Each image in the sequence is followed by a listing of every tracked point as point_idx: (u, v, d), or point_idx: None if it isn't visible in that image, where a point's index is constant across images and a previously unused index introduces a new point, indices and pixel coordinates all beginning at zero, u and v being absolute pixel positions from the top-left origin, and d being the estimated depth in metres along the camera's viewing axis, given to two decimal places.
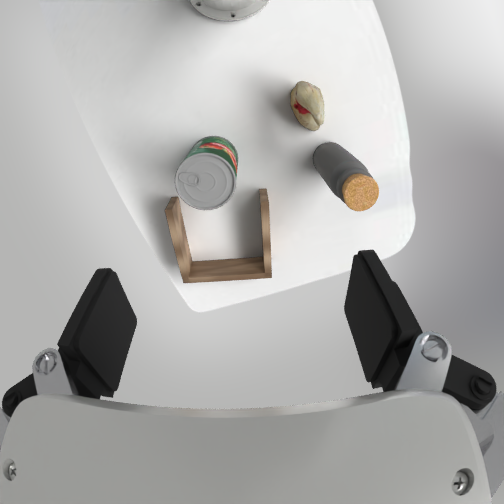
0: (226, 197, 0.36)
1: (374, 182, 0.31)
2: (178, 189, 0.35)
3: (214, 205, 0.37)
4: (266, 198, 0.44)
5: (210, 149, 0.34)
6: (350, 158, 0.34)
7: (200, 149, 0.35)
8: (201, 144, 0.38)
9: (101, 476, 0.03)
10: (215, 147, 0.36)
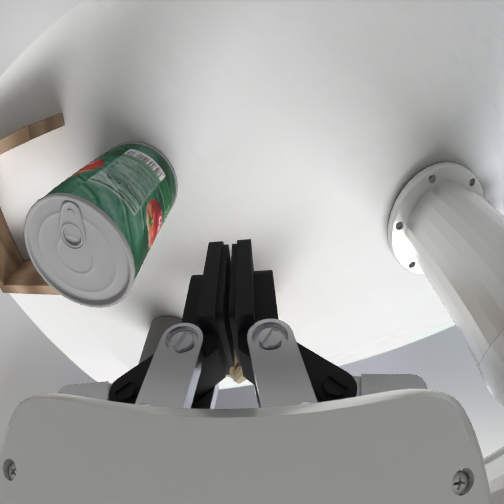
0: (63, 289, 0.15)
1: None
2: (44, 201, 0.12)
3: (42, 268, 0.14)
4: None
5: (143, 249, 0.16)
6: None
7: (141, 223, 0.15)
8: (155, 195, 0.18)
9: (101, 476, 0.03)
10: (151, 239, 0.17)
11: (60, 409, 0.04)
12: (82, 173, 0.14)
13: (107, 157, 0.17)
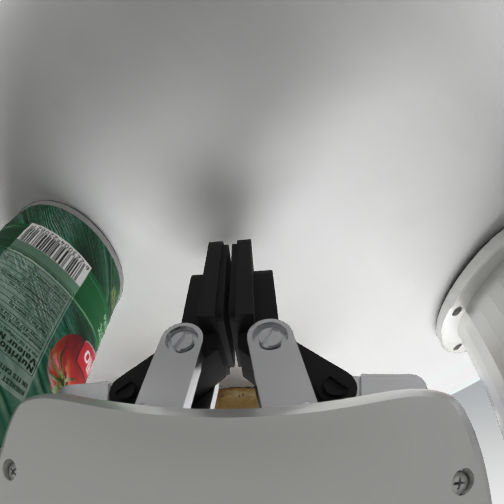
0: None
1: None
2: None
3: None
4: None
5: None
6: None
7: None
8: (67, 326, 0.08)
9: (101, 476, 0.03)
10: None
11: (60, 409, 0.04)
12: None
13: None
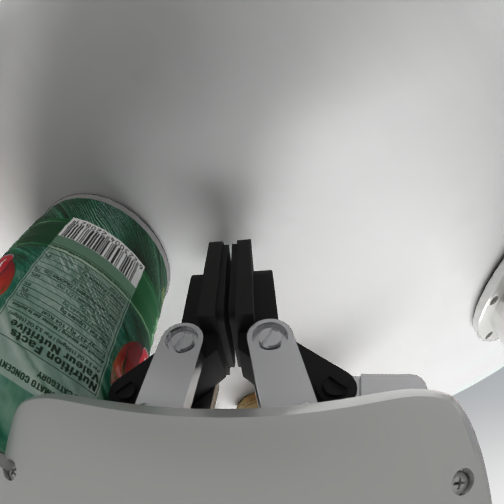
0: None
1: None
2: None
3: None
4: None
5: None
6: None
7: None
8: (127, 332, 0.08)
9: (101, 476, 0.03)
10: None
11: (60, 409, 0.04)
12: None
13: (25, 250, 0.07)
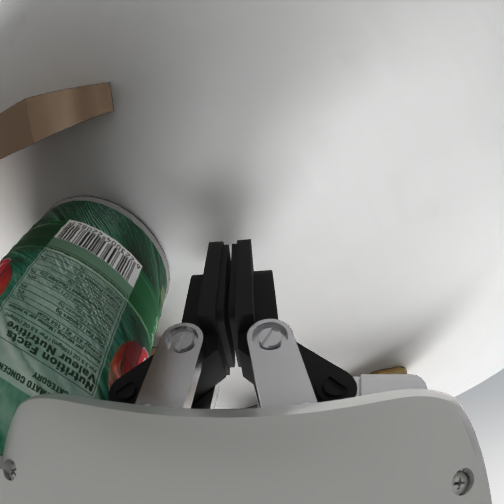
0: None
1: None
2: None
3: None
4: None
5: None
6: None
7: None
8: (124, 332, 0.08)
9: (101, 476, 0.03)
10: None
11: (60, 409, 0.04)
12: None
13: (22, 253, 0.07)
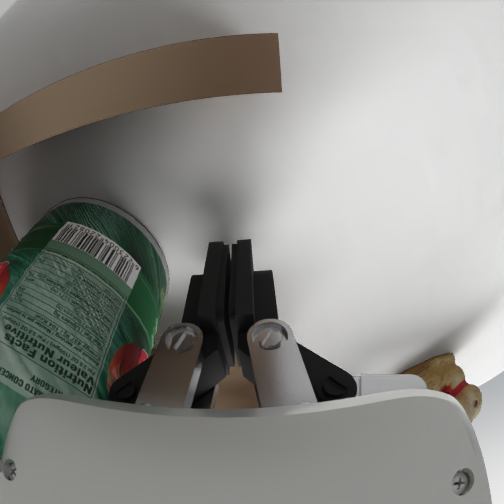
0: None
1: None
2: None
3: None
4: None
5: None
6: None
7: None
8: (123, 334, 0.08)
9: (101, 476, 0.03)
10: None
11: (60, 409, 0.04)
12: None
13: (20, 256, 0.07)
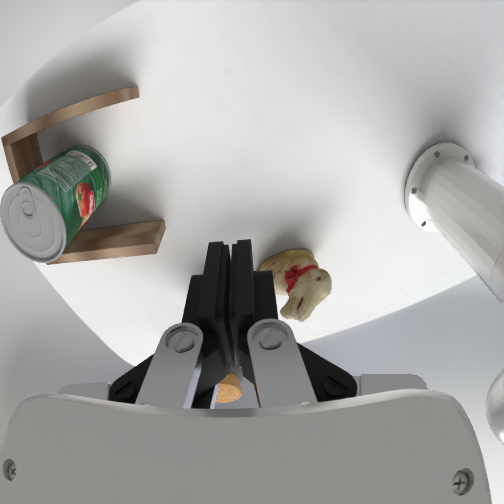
0: (27, 252, 0.20)
1: (235, 399, 0.27)
2: (10, 189, 0.16)
3: (13, 238, 0.19)
4: (157, 245, 0.28)
5: (73, 215, 0.20)
6: None
7: (71, 197, 0.20)
8: (85, 179, 0.22)
9: (101, 476, 0.03)
10: (82, 210, 0.22)
11: (60, 409, 0.04)
12: (35, 170, 0.19)
13: (54, 158, 0.21)
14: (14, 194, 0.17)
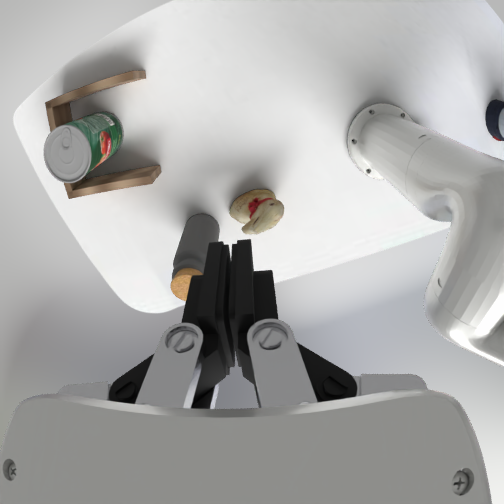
0: (59, 176, 0.30)
1: None
2: (55, 130, 0.26)
3: (50, 167, 0.29)
4: (153, 179, 0.38)
5: (96, 149, 0.30)
6: None
7: (96, 137, 0.30)
8: (106, 130, 0.32)
9: (101, 476, 0.03)
10: (102, 148, 0.31)
11: (60, 409, 0.04)
12: (72, 121, 0.28)
13: (85, 116, 0.31)
14: (57, 133, 0.26)
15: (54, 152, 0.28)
